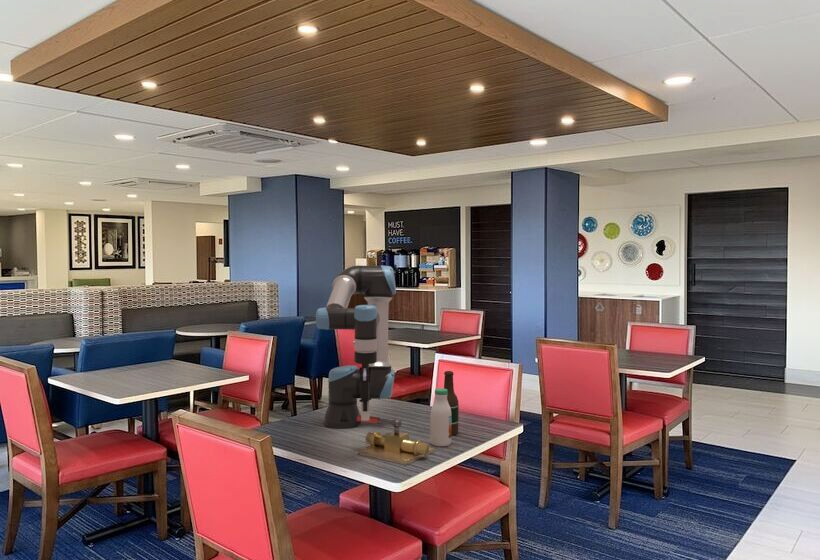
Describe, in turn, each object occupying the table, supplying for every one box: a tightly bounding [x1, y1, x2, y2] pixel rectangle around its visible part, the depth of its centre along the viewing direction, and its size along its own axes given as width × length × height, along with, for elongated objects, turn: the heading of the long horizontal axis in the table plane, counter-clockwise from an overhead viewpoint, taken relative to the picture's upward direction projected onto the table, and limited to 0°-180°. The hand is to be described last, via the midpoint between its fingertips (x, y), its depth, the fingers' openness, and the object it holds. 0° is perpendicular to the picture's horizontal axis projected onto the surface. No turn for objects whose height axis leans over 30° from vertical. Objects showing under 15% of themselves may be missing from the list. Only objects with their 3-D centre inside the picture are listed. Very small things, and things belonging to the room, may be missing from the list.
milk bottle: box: [429, 387, 452, 447], centre depth 228 cm, size 8×8×20 cm
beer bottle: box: [443, 370, 459, 436], centre depth 242 cm, size 8×8×24 cm
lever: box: [357, 414, 402, 427], centre depth 219 cm, size 17×3×2 cm, turn 66°
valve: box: [357, 426, 436, 466], centre depth 217 cm, size 24×18×10 cm
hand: (365, 419), depth 213 cm, fingers closed
